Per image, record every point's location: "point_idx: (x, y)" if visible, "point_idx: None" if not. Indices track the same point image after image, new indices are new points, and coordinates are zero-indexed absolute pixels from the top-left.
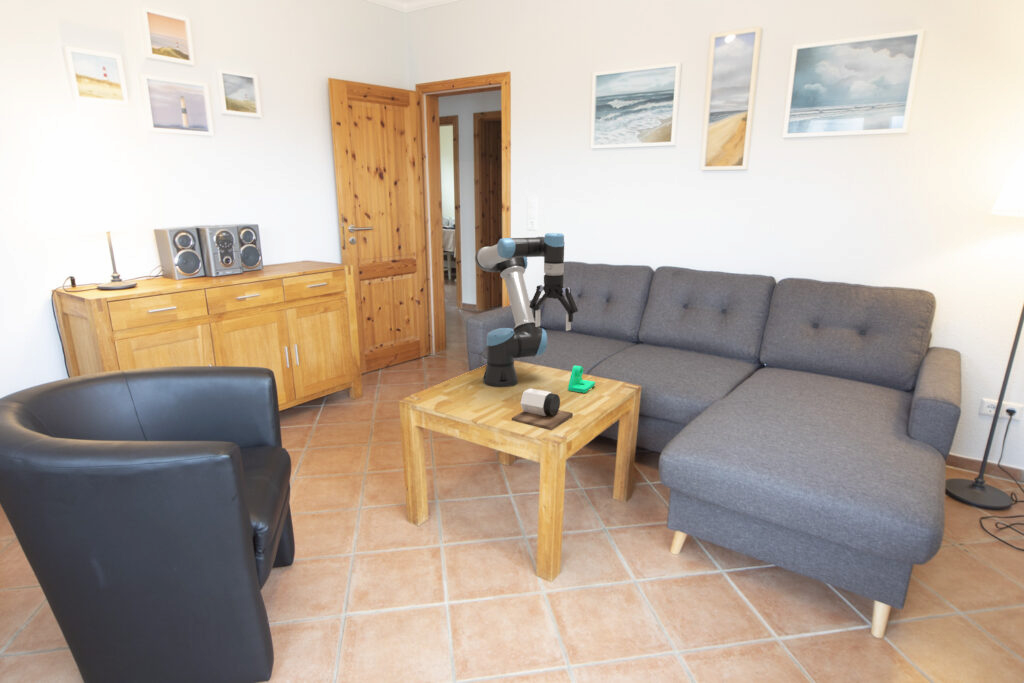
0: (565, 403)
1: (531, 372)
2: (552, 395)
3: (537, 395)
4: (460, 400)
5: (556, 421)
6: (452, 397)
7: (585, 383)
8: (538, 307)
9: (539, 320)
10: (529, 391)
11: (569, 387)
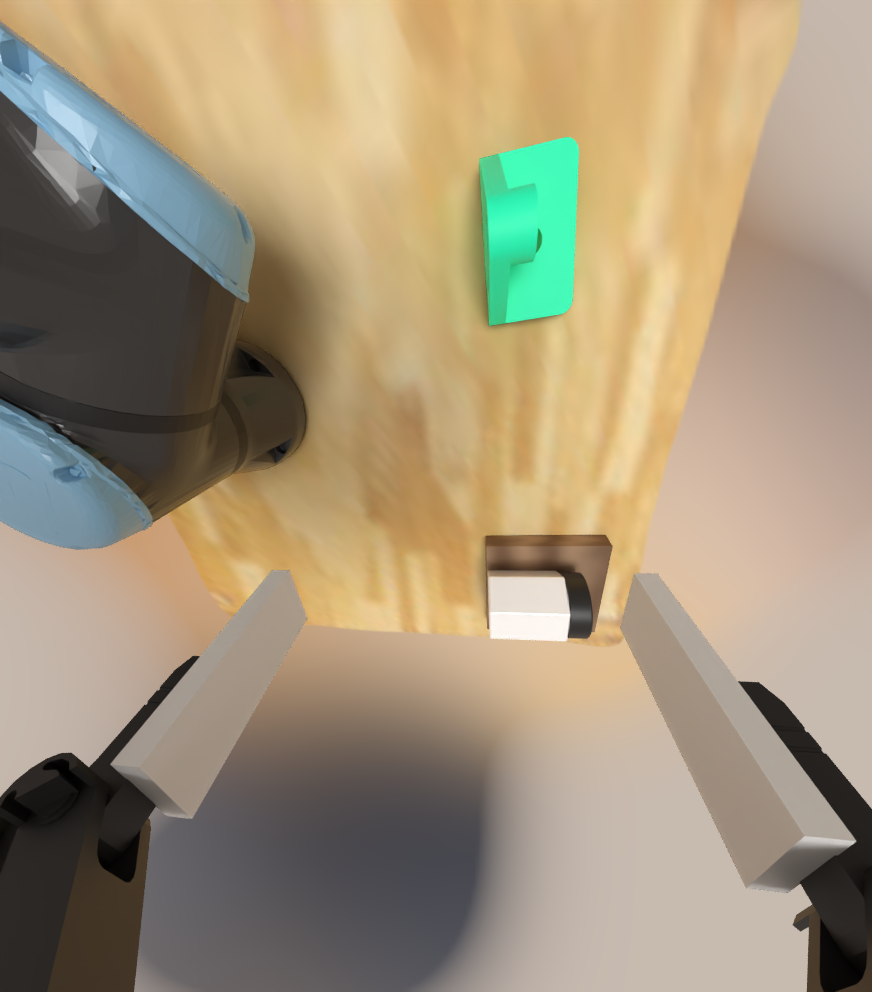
0: (534, 440)
1: (186, 153)
2: (586, 635)
3: (539, 639)
4: (294, 566)
5: (592, 605)
6: (264, 560)
7: (539, 214)
8: (88, 835)
9: (263, 630)
10: (506, 633)
11: (496, 324)
